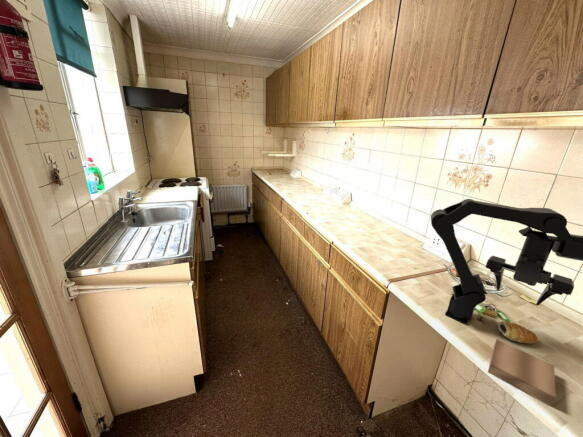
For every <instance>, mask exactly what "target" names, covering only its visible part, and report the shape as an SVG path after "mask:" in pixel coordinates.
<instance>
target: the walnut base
mask: <svg viewBox="0 0 583 437" xmlns="http://www.w3.org/2000/svg"><path fill="white" fill-rule="evenodd" d="M488 365H489V366H488V370H487V373H488V374H490V375H492V376H493V377H496V378H497V379H500V380H501V381H502V382H505V383H506V384H509V385H510V386H512V387H514V388H515V389H517V390H520V391H522V392H524V393H525V394H527V395H529V396H531V397H533V398H535V399H537V400H538V401H540V402H541V403H543V404H546V405H547V406H550V407H552V405H553V403H554V402H555V399H556V397H557V396H556V378H555V377H556V376H555V374H556V373H555V365H554V364H553V363H550V362H548V361H545V360H543V359H541V358H539V357H537V356H535V355H532V354H530V353H528V352H526V351H524V350H522V349H519V348H517V347H515V346H513V345H510V344H508V343H506V342H504V341H502V340H500V339H498V338H497V339H496V341H495V342H494V345H493V349H492V353H491V357H490V362H489V364H488Z"/></svg>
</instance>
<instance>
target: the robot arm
mask: <svg viewBox="0 0 583 437" xmlns="http://www.w3.org/2000/svg"><path fill="white" fill-rule="evenodd" d="M471 215H476V216H481V217H486V218H491V219H492V218H493V219H496V220H501V221H506V222H507V221H508V222H513V223H519V224H521V225H524V226H525V228H522V229H519V230H518V233H519V234H520V235H522V236H523V237H526V238H525V240H524V242H523V244H522V248H521V251H520V253H519V255H518V259H517V261H516V263H515V265H513V264H509V263H507V262H506V261H507V259H506V258H502V257H499V256H496V255H491V256H489V258H488V259H487V260H486V264H485V268H486V269H488V270H489V272H491V273H492V274H493V275H494V277H495V282H496V291H497V292H499V291H500V289H501V286H502V284H503V277H504V272H505V270H506V271H509V272H512V273H514V274H513V277H512V279H513V280H514V281H516V282H519V283H523V284H527V285H529V286H532V287H535V286H536V285H537V284H540V285H546V286H545V288H544V289H543V291H542V292H541V293H540V296H539V297H538V299H537V301H536V303H535V304H536V306H540V305H541V304H542V303H544V301H546V300H547V299H549V298H550V297H551V296H555V295H561V296H563V294H564V295H567V296H571V294H572V293H573V290H574V289H575V283H574V280H573V279H572V278H569V277H566V276H562V275H559V274H557V273H554V274H553V276H552V272H551V271H548V270H545V269H544V268H545V266H546V263H547V261H548V259H549V256H550V255H551V252H553V253H554V254H555V256H556V257H559V258H563V259H570V260H573V261H580V262H583V235H578V234H572V233H570V232H569V230H568V229H567V224H568V220H567V218H566V216H564V215H563V214H561V213H559V212H557V211H556V210H553V209H552V208H548V207H515V206H508V205H503V204H498V203H492V202H485V201H480V200H479V201H478V200H476V199H475V200H474V199H472V198H466V199H464V200H462V201H460V202H458V203H455V204H452V205H449V206H447V207H445V208H443V209H436V210H434V211H432V213H431V215H430V223H431V227H432V228H433V230H434V231H435V232H436V234H437V236H438V237H439V238H440V239H441V241H442V242H443V244H444V245H445V249H446V250H447V252H448V254H449V257H450V259H451V261H452V264H453V266H454V268H455V270H456V273H457V275H458V277H459V282H460V283H459V284H456V285H454V286H452V293H453V294H452V296H451V297H450V299H449V302H448V307H447V310H445V312H444V313H445V314H444V315H445V316H446V317H449V318H451V319H454V320H456V321H457V322H460V323H462V324H464V325H468V322H470V321H471V319H472V318H473V314H474V311H475V310H476V309H475V308H476V307H477V306H478V305H480V304H483V303H484V302H485V301H486V299H487V297H486V295H488V292H487V290H486V287H485V285H484V283H483V282H482V279H481V276H480V274H479V273H477V274H474V273H473V272H472V271H471V268H470V266H469V265H468V262H467V259H466V258H465V255H464V253H463V250H462V249H461V246H460V244H459V242H458V239H457V236H456V233H455V228H454V225H455V224H458V223H460V222H461V221H463V220H464V219H466V218H467V217H469V216H471ZM549 234H552V235H549Z"/></svg>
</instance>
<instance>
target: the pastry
mask: <svg viewBox="0 0 583 437" xmlns="http://www.w3.org/2000/svg"><path fill="white" fill-rule="evenodd" d="M497 330H498V331H499V332H500V333H501V334H502V335H503V336H504V337H505V338H507V340H511V341H513V342H518V343H521V344H531V345H532V344H535V343H537V342H538V339H539V338H538V336H537V335H536V333H535V332H534V331H532V330H530V329H527V328H526V327H524V326H522V325H520V324H517V323H515V322H510V321H508V320H507V321H503V320H502V321H500V322H498V323H497Z"/></svg>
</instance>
